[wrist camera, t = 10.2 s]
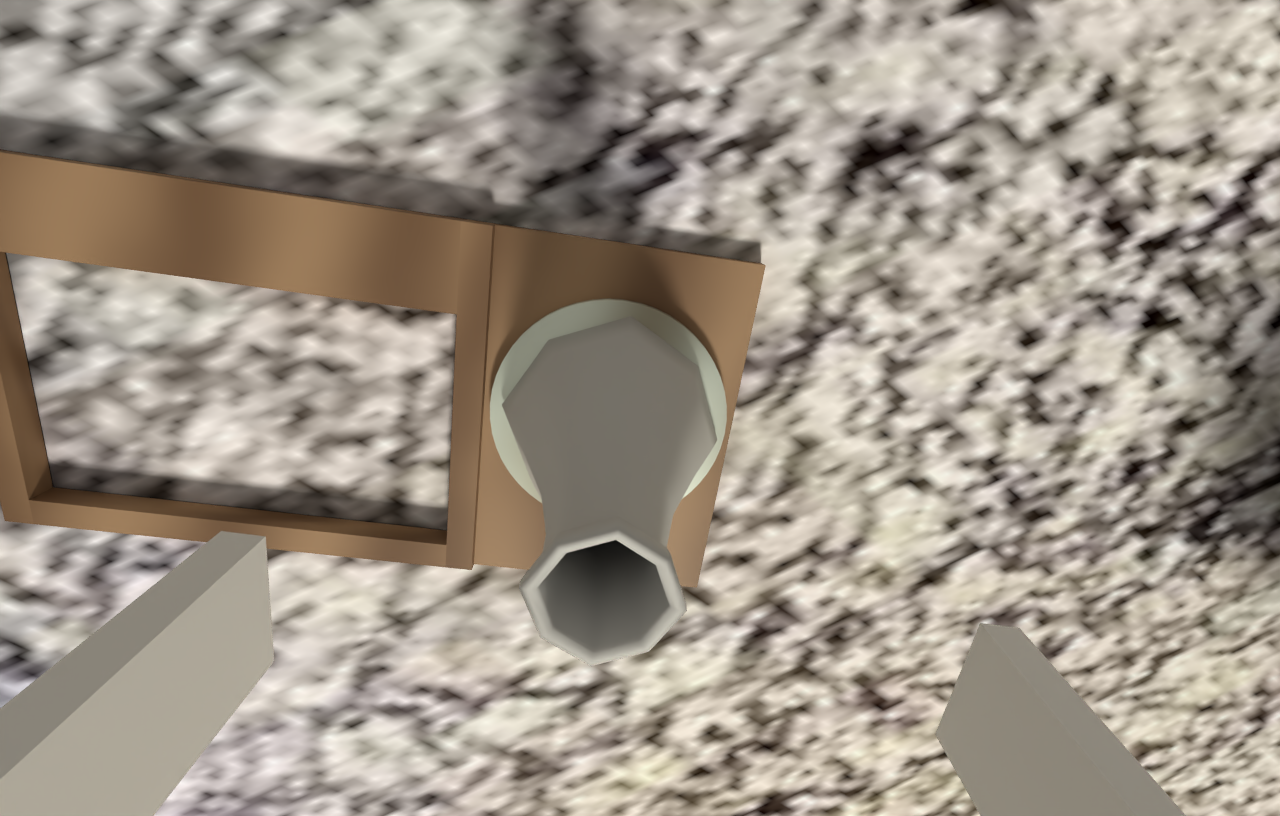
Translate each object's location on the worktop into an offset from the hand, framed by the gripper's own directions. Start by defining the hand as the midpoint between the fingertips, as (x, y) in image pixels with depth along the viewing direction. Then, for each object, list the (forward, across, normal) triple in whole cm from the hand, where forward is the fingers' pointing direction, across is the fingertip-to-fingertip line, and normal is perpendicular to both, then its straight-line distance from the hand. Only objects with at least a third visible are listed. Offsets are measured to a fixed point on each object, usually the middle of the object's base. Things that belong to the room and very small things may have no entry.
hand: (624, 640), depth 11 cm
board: (+12, +9, 0) cm, 15 cm away
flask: (+11, +1, 0) cm, 11 cm away
